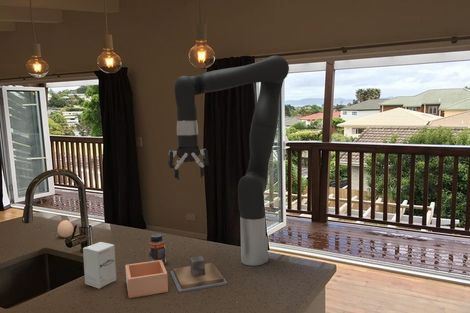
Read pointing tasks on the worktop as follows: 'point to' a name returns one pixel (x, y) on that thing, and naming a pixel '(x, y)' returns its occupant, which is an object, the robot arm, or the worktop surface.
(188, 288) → the mat
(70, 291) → the worktop surface
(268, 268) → the worktop surface
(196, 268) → the lid
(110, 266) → the supplement box
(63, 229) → the egg
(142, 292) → the open cardboard tray
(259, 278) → the worktop surface
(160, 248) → the supplement bottle
